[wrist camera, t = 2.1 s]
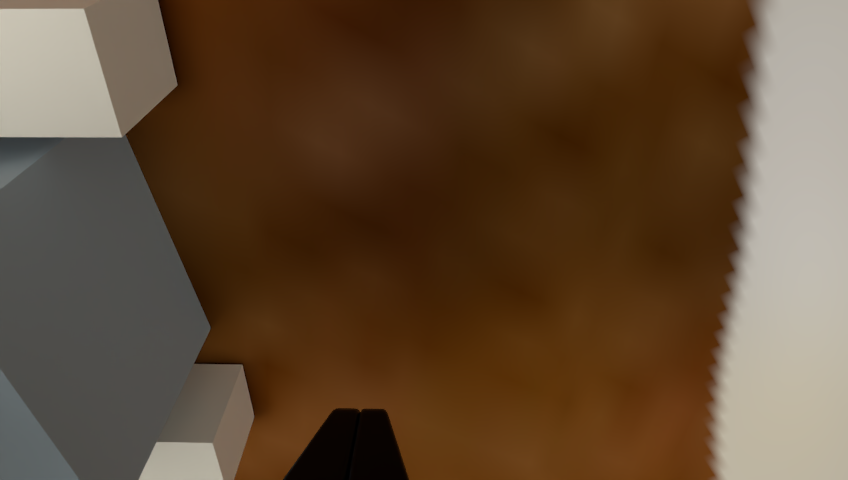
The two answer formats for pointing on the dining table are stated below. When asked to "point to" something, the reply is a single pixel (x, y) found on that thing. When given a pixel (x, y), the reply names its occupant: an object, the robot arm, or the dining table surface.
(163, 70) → the chute
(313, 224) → the dining table surface
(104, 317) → the block
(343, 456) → the robot arm
